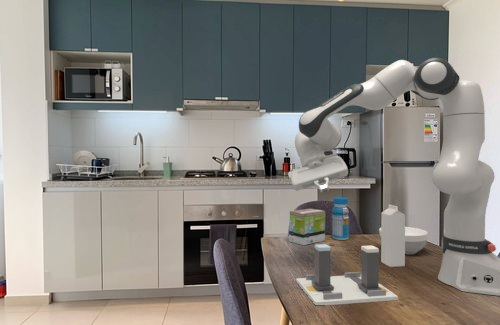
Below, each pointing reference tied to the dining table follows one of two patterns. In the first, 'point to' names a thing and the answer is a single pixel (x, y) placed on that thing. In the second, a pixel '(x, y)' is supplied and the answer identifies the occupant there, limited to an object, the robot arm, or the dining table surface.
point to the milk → (393, 237)
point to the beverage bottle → (340, 219)
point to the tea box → (307, 226)
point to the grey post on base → (369, 268)
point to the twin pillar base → (344, 291)
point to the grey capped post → (322, 268)
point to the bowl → (413, 239)
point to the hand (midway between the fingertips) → (325, 190)
